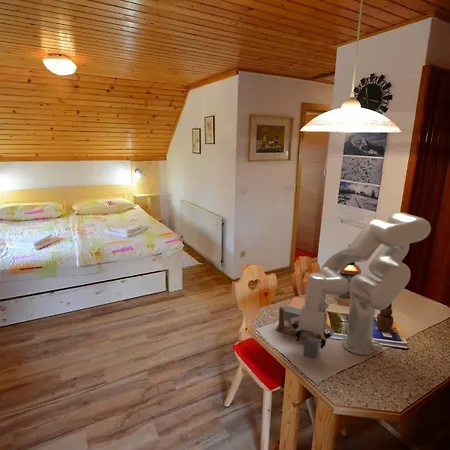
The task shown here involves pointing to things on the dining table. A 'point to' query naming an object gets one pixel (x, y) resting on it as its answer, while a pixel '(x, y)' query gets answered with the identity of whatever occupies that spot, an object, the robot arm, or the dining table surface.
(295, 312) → the brown and grey block
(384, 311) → the wooden figurine
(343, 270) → the whiskey bottle
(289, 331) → the frame
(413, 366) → the dining table surface
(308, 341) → the grey cube
